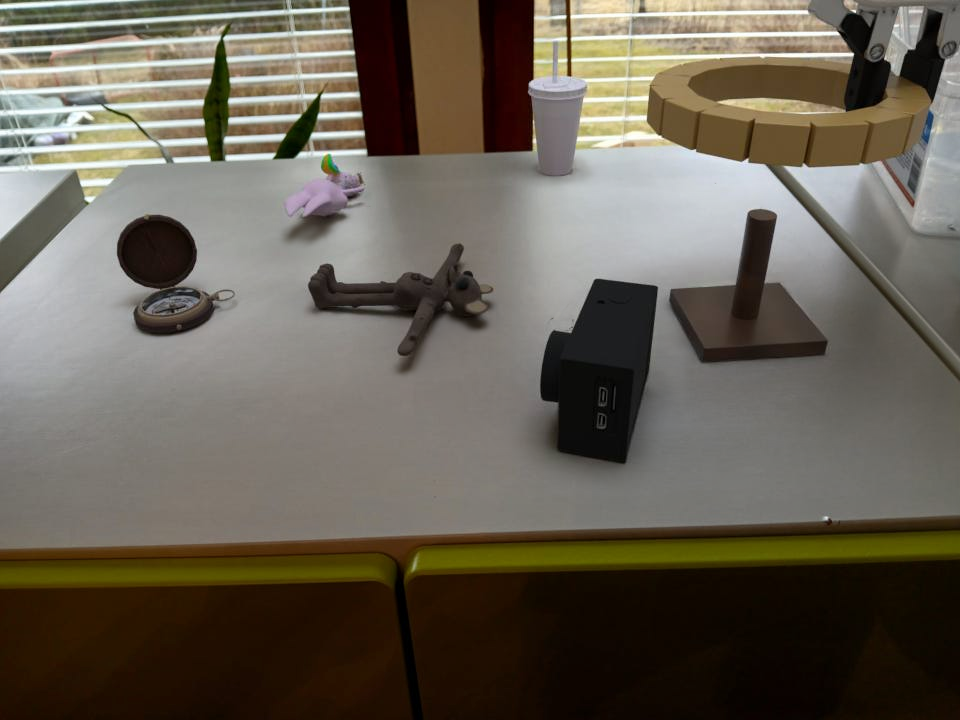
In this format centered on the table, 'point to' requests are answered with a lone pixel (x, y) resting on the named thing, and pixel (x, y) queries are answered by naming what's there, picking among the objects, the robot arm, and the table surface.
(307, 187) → the rabbit figure
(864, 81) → the robot arm
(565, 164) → the smoothie
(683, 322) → the brown peg stand
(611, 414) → the digital camera
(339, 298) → the bear figurine
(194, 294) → the compass
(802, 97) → the block ring
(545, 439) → the table surface
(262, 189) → the table surface
